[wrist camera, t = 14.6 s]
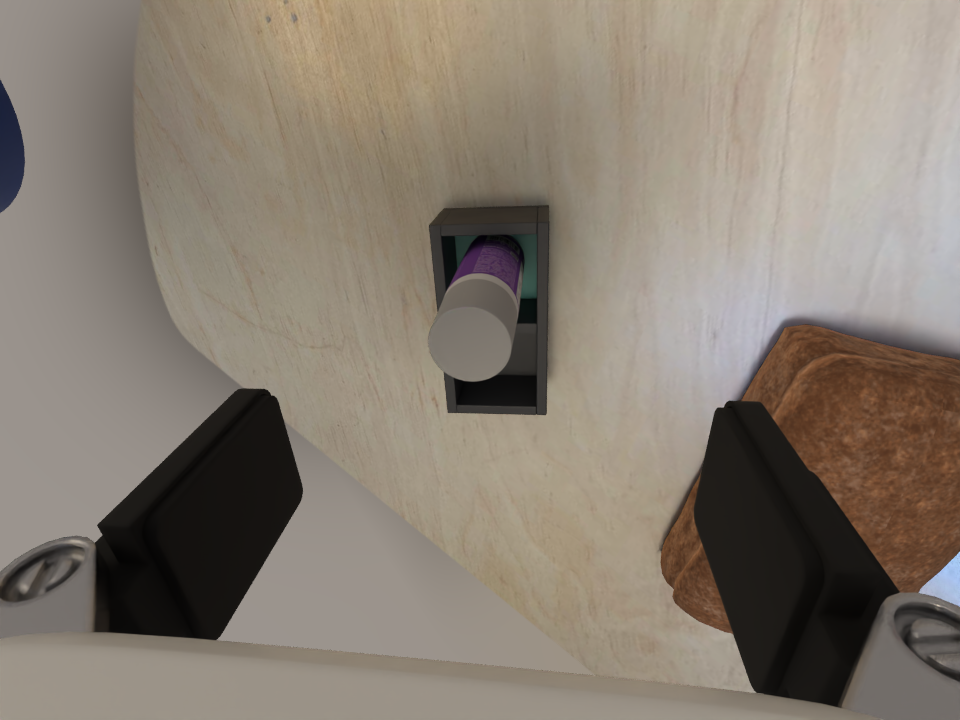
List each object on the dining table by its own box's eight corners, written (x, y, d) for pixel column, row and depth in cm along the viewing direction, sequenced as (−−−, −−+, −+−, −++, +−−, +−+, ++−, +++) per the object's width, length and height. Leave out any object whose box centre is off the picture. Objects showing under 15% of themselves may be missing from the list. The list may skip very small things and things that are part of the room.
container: (454, 248, 39) (408, 328, 26) (506, 219, 37) (485, 288, 24) (484, 298, 40) (455, 396, 27) (535, 272, 39) (529, 363, 26)
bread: (648, 553, 53) (671, 659, 43) (780, 307, 39) (861, 382, 29) (803, 588, 53) (862, 704, 43) (993, 355, 38) (1150, 447, 28)
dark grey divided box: (458, 379, 45) (447, 413, 41) (443, 208, 38) (428, 225, 33) (546, 380, 44) (546, 415, 40) (548, 205, 37) (549, 221, 32)
